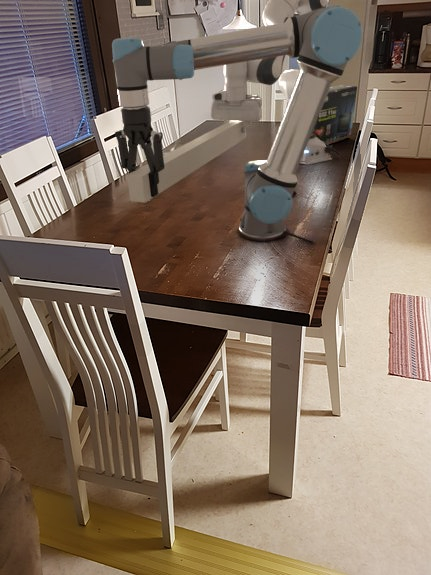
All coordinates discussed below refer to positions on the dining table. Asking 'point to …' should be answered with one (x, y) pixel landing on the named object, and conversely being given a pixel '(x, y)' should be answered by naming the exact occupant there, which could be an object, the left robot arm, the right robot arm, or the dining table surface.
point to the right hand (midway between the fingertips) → (236, 132)
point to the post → (185, 160)
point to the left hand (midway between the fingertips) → (146, 194)
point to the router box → (337, 113)
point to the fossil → (173, 148)
